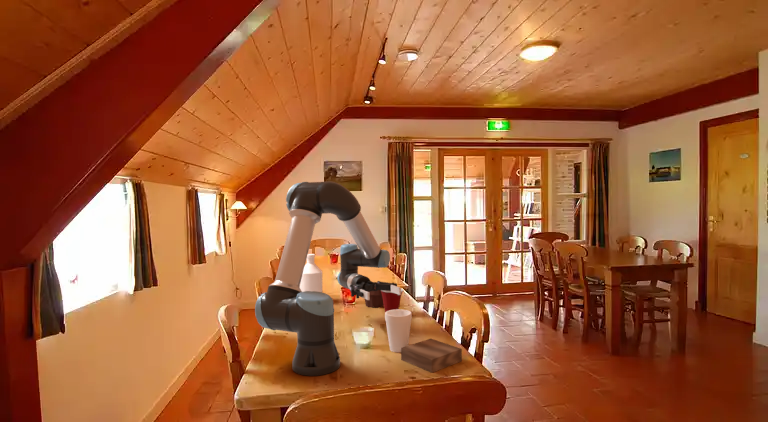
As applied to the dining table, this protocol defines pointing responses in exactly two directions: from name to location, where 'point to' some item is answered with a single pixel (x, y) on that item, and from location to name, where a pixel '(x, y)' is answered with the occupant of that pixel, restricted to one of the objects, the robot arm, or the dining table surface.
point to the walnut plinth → (431, 355)
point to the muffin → (375, 299)
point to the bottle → (311, 276)
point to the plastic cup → (391, 300)
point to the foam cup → (398, 328)
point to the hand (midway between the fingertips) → (384, 293)
